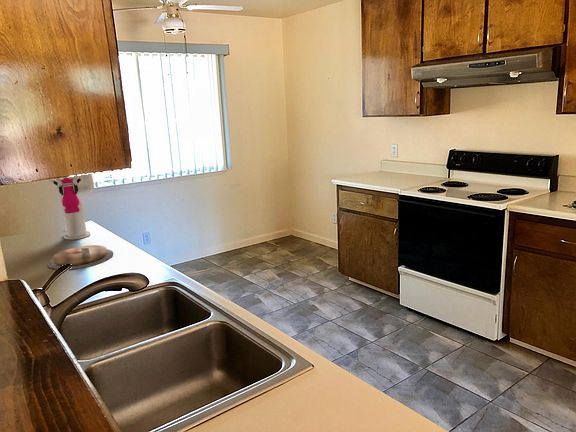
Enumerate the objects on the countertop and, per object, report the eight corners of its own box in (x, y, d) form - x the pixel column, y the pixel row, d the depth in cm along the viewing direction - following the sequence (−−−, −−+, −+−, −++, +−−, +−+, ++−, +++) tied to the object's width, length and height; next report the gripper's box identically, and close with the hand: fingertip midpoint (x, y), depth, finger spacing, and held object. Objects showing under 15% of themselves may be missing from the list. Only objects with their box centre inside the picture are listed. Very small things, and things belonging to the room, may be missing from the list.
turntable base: (33, 266, 199) (33, 265, 199) (81, 247, 223) (81, 246, 223) (81, 272, 189) (80, 270, 189) (126, 251, 213) (125, 249, 213)
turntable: (60, 269, 191) (57, 254, 190) (48, 257, 208) (46, 244, 206) (114, 256, 204) (111, 242, 203) (98, 246, 221) (96, 233, 219)
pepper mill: (84, 209, 215) (77, 167, 210) (75, 213, 208) (68, 169, 203) (69, 210, 216) (62, 167, 211) (60, 214, 209) (52, 170, 204)
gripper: (40, 156, 199) (48, 197, 203) (83, 152, 206) (89, 193, 210) (41, 155, 206) (49, 195, 210) (83, 151, 212) (89, 190, 216)
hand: (69, 193), depth 210 cm, fingers closed on pepper mill, 5 cm apart
